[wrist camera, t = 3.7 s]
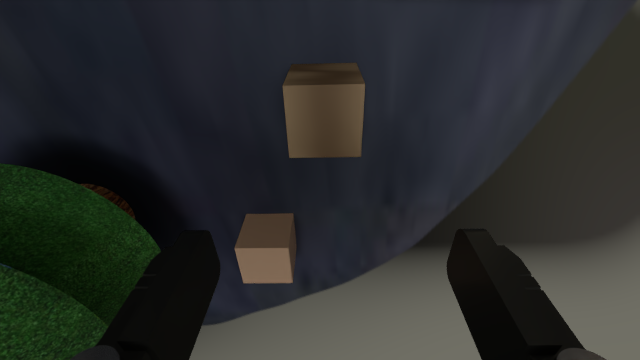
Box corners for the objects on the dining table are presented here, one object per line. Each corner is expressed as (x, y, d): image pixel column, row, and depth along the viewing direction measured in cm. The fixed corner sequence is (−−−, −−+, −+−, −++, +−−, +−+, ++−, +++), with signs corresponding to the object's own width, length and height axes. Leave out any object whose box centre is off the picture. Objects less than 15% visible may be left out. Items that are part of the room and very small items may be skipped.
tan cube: (253, 246, 34) (243, 283, 30) (246, 213, 31) (234, 248, 27) (296, 246, 34) (292, 282, 30) (293, 212, 31) (288, 247, 27)
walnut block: (296, 124, 26) (289, 157, 21) (291, 64, 23) (282, 85, 18) (353, 123, 25) (360, 156, 20) (356, 62, 23) (365, 83, 18)
